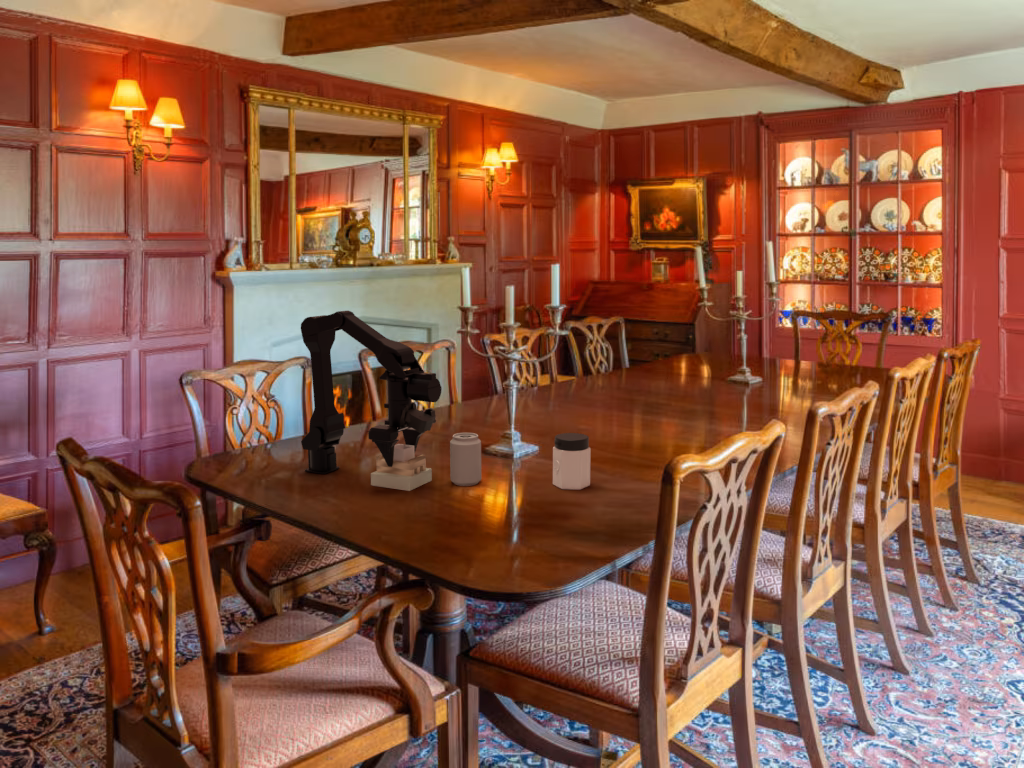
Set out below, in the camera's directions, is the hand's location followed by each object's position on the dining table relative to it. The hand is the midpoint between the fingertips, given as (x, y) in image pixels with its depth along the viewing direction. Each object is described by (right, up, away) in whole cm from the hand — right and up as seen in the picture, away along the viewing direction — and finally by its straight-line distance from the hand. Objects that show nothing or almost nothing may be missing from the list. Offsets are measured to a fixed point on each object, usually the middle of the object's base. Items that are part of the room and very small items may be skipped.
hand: (401, 462), depth 206 cm
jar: (+41, -6, -1) cm, 42 cm away
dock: (0, -5, +1) cm, 5 cm away
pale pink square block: (0, +1, 0) cm, 1 cm away
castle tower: (0, -2, 0) cm, 2 cm away
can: (+16, -5, +1) cm, 17 cm away
